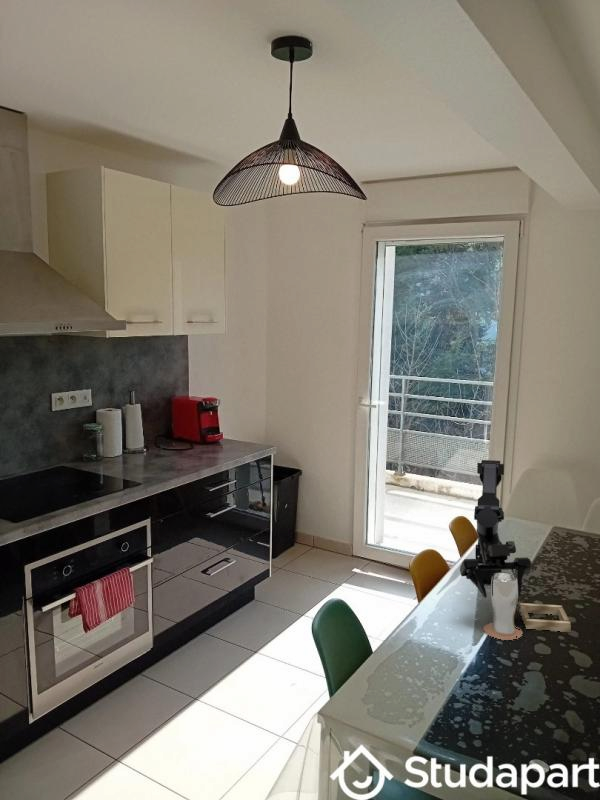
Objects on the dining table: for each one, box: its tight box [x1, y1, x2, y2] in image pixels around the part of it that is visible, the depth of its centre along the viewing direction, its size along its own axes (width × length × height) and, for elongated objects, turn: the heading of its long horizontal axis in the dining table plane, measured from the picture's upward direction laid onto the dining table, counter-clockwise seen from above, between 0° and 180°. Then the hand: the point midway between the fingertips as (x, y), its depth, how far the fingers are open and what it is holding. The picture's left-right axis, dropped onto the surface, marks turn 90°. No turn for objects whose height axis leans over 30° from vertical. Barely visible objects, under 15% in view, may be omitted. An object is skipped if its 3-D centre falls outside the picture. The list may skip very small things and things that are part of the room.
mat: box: [483, 622, 523, 641], centre depth 171 cm, size 10×10×1 cm
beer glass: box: [490, 571, 519, 635], centre depth 171 cm, size 7×7×15 cm
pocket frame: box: [519, 602, 572, 633], centre depth 177 cm, size 11×11×2 cm
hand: (502, 596), depth 171 cm, fingers open, 9 cm apart
